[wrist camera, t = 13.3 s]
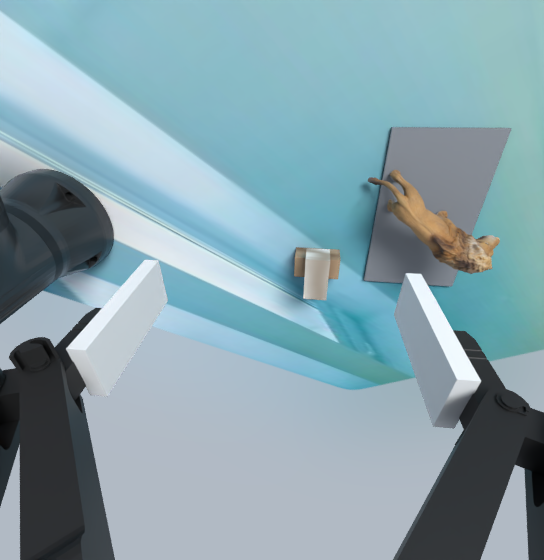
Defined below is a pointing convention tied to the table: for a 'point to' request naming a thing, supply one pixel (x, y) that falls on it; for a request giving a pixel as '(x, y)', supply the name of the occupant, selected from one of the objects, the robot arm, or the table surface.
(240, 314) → the table surface
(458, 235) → the lion figurine
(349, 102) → the table surface
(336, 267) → the brick stack
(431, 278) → the gray mat
